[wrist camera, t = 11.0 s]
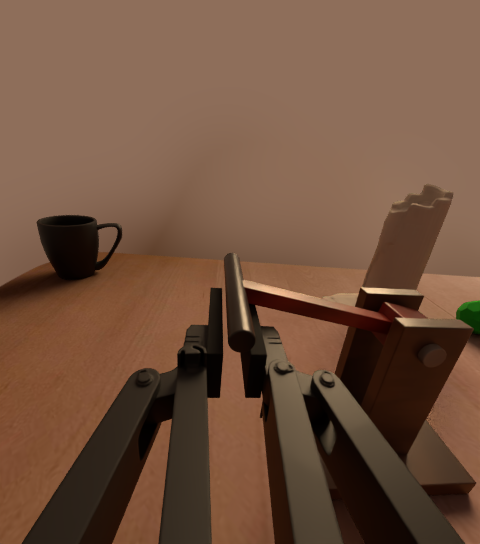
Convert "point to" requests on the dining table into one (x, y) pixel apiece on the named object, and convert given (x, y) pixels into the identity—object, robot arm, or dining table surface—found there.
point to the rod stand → (405, 387)
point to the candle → (405, 242)
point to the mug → (74, 244)
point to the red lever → (295, 308)
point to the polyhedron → (470, 315)
